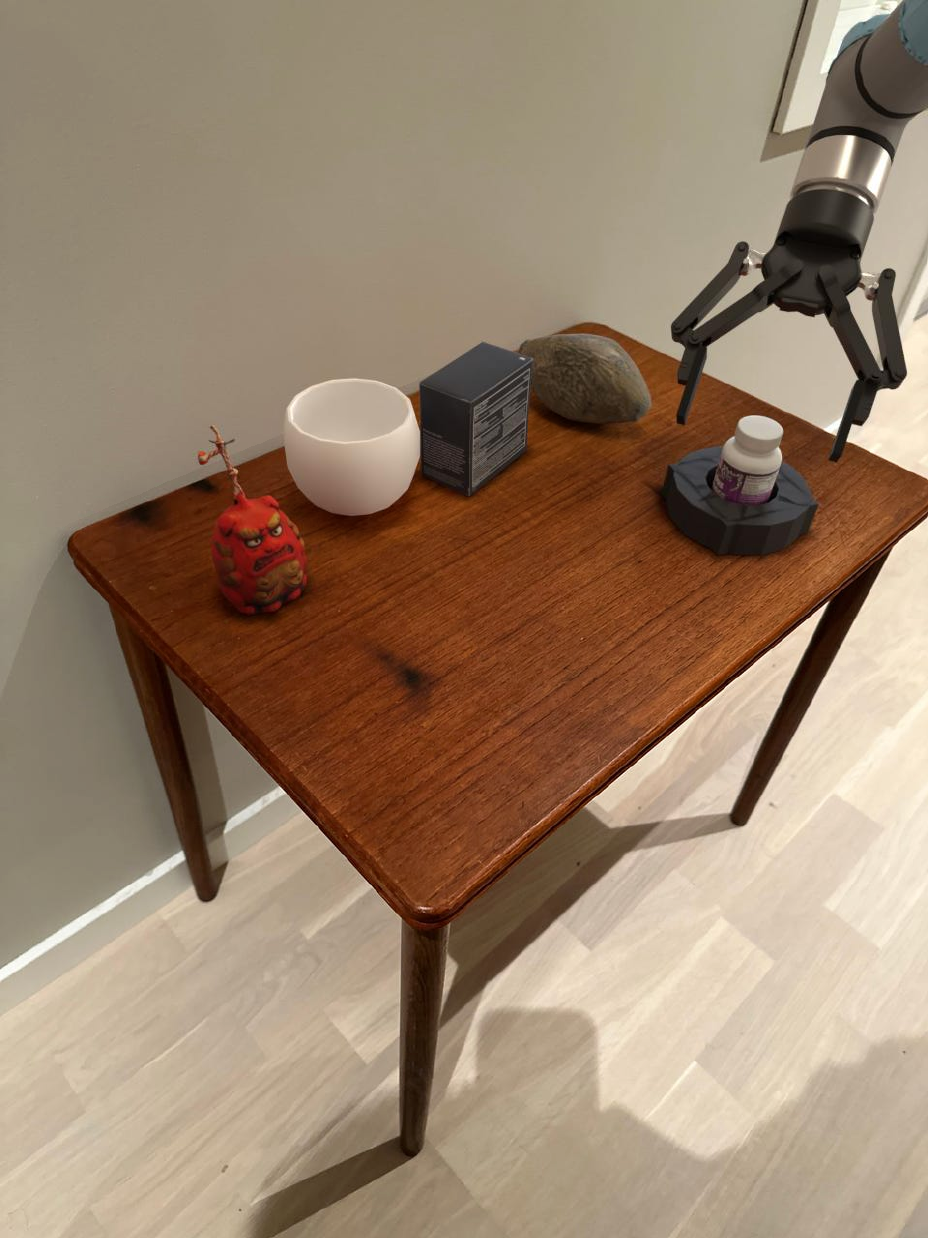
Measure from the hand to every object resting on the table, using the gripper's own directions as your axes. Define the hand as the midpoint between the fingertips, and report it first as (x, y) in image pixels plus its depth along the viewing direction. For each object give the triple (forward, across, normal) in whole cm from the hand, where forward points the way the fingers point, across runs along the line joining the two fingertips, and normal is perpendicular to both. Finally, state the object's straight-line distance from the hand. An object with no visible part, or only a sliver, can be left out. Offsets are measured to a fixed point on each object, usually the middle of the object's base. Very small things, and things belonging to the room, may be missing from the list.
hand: (755, 439), depth 77 cm
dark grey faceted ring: (+6, 0, -7) cm, 9 cm away
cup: (+16, +34, +3) cm, 37 cm away
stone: (-2, +19, -15) cm, 25 cm away
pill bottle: (+6, 0, -7) cm, 9 cm away
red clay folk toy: (+26, +34, +13) cm, 45 cm away
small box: (+8, +26, -5) cm, 27 cm away
